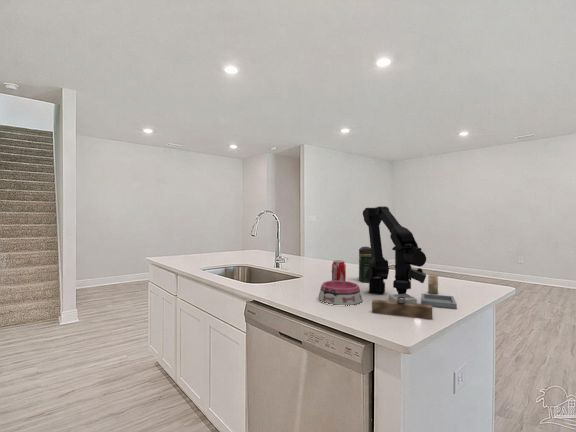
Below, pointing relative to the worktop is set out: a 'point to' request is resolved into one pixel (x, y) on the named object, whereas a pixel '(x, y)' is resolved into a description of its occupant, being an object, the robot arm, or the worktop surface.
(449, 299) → the tray
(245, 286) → the worktop surface
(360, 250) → the coffee jar
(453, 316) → the worktop surface
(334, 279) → the soda can
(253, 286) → the worktop surface
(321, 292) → the dog bowl
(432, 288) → the dowel
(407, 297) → the small box
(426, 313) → the stop rail
